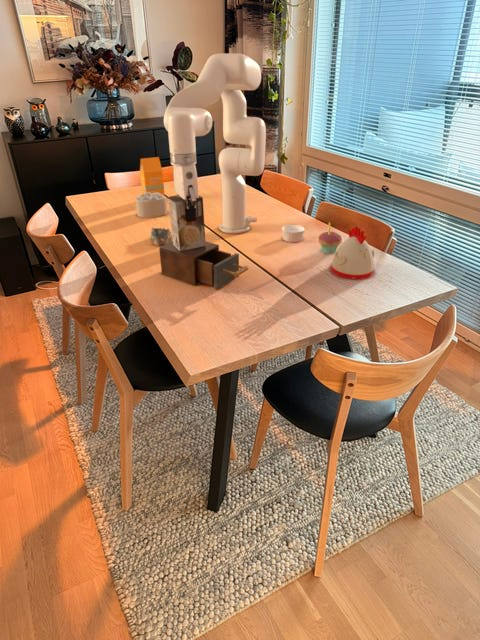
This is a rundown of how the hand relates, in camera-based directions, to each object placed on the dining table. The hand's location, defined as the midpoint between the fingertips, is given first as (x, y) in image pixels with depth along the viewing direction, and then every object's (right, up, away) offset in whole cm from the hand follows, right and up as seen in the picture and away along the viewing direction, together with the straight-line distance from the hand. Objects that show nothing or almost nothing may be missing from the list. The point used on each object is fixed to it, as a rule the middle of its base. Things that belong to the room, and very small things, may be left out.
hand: (187, 216), depth 143 cm
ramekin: (+37, -1, +35) cm, 51 cm away
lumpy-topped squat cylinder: (-23, +15, +62) cm, 68 cm away
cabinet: (0, -16, +10) cm, 19 cm away
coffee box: (0, -8, +5) cm, 10 cm away
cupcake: (+49, -7, +25) cm, 56 cm away
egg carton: (-14, -2, +35) cm, 37 cm away
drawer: (+10, -19, +4) cm, 22 cm away
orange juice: (-25, +25, +78) cm, 86 cm away
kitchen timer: (+54, -16, +11) cm, 58 cm away
